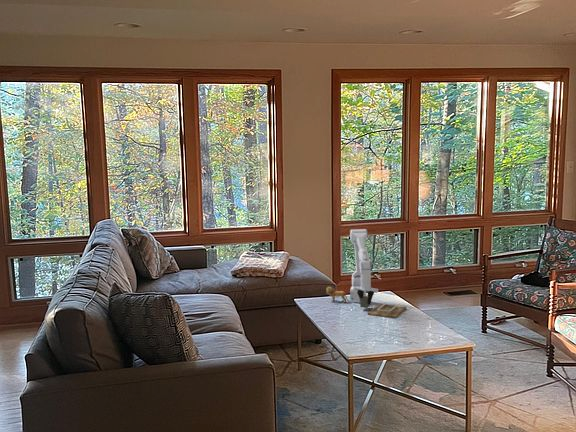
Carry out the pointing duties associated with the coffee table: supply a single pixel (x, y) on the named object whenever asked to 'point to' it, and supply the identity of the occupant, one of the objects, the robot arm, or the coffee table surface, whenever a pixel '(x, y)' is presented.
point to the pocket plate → (387, 310)
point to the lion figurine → (336, 293)
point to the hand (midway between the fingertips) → (365, 303)
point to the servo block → (364, 302)
